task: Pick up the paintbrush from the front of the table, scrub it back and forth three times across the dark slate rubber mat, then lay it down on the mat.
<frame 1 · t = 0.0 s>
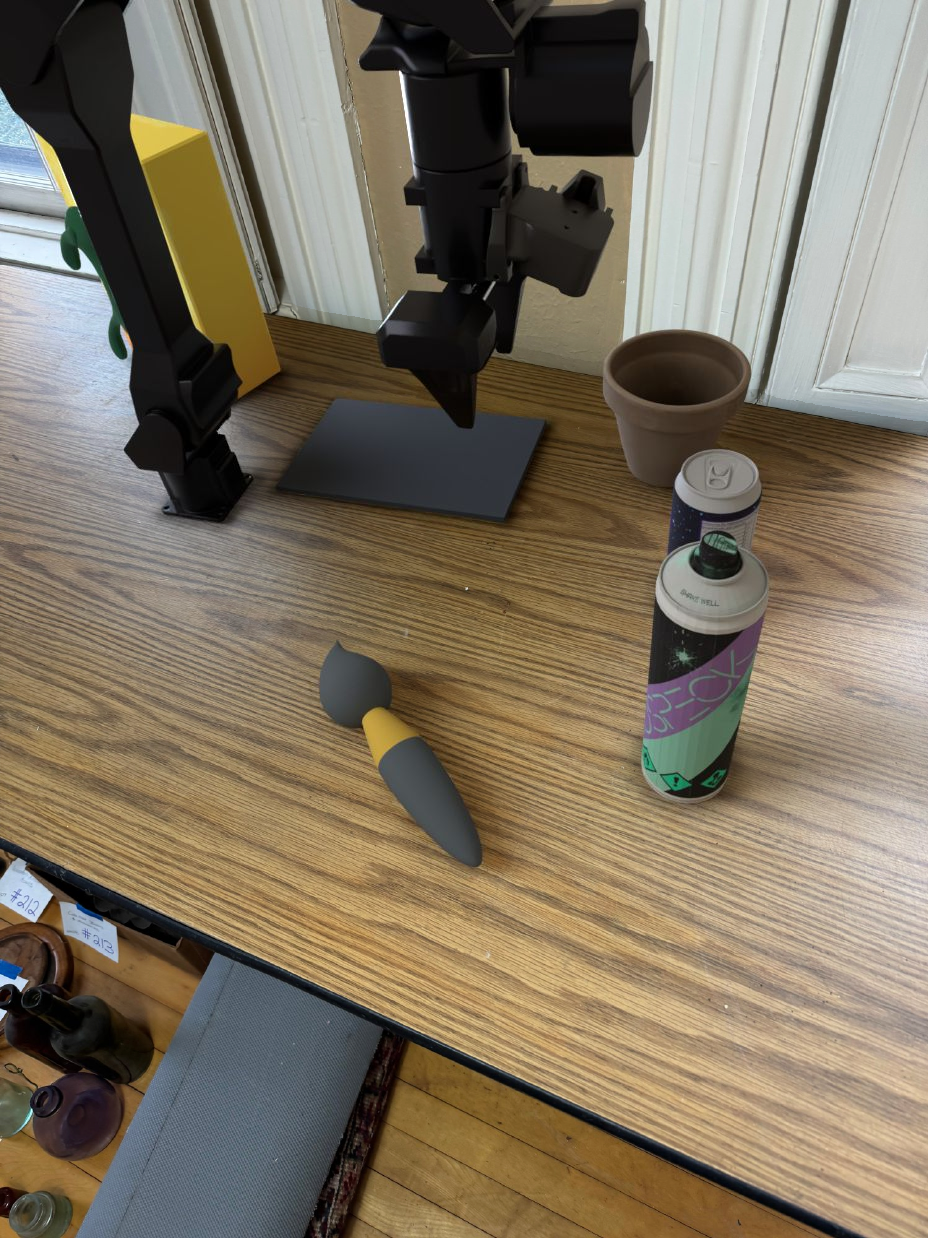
hand: (486, 388, 60), 15 cm above the table, tool pointing down, fingers open, 9 cm apart
paintbrush: (405, 760, 58), on the table
mottled yellow carton: (189, 377, 94), on the table
mat: (413, 457, 80), on the table
beverage can: (701, 598, 65), on the table
flower pot: (667, 467, 75), on the table
spray can: (683, 768, 55), on the table
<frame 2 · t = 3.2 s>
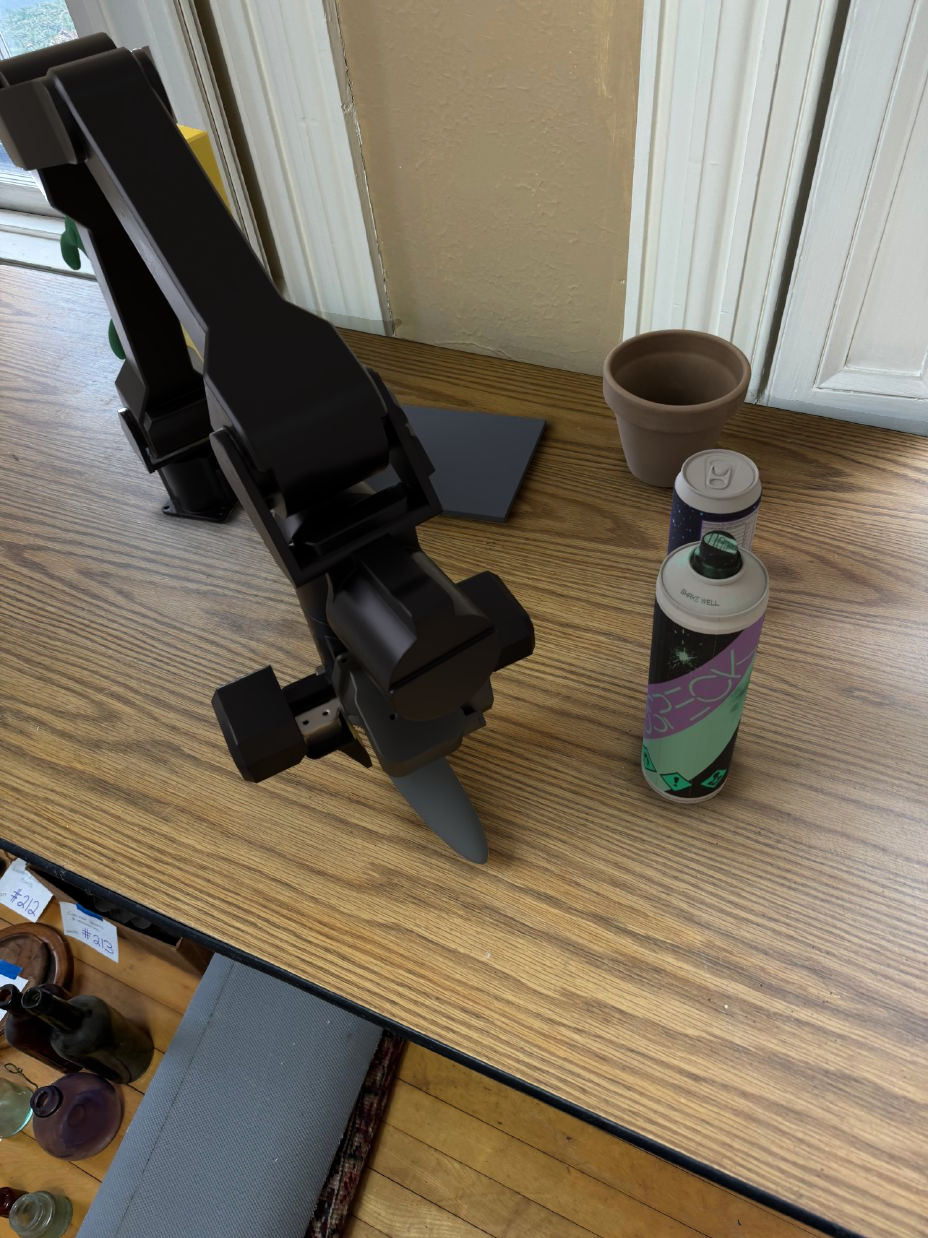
hand: (399, 747, 57), 2 cm above the table, tool pointing down, fingers closed on paintbrush, 4 cm apart
paintbrush: (410, 757, 58), on the table, touching gripper
everything else where it was.
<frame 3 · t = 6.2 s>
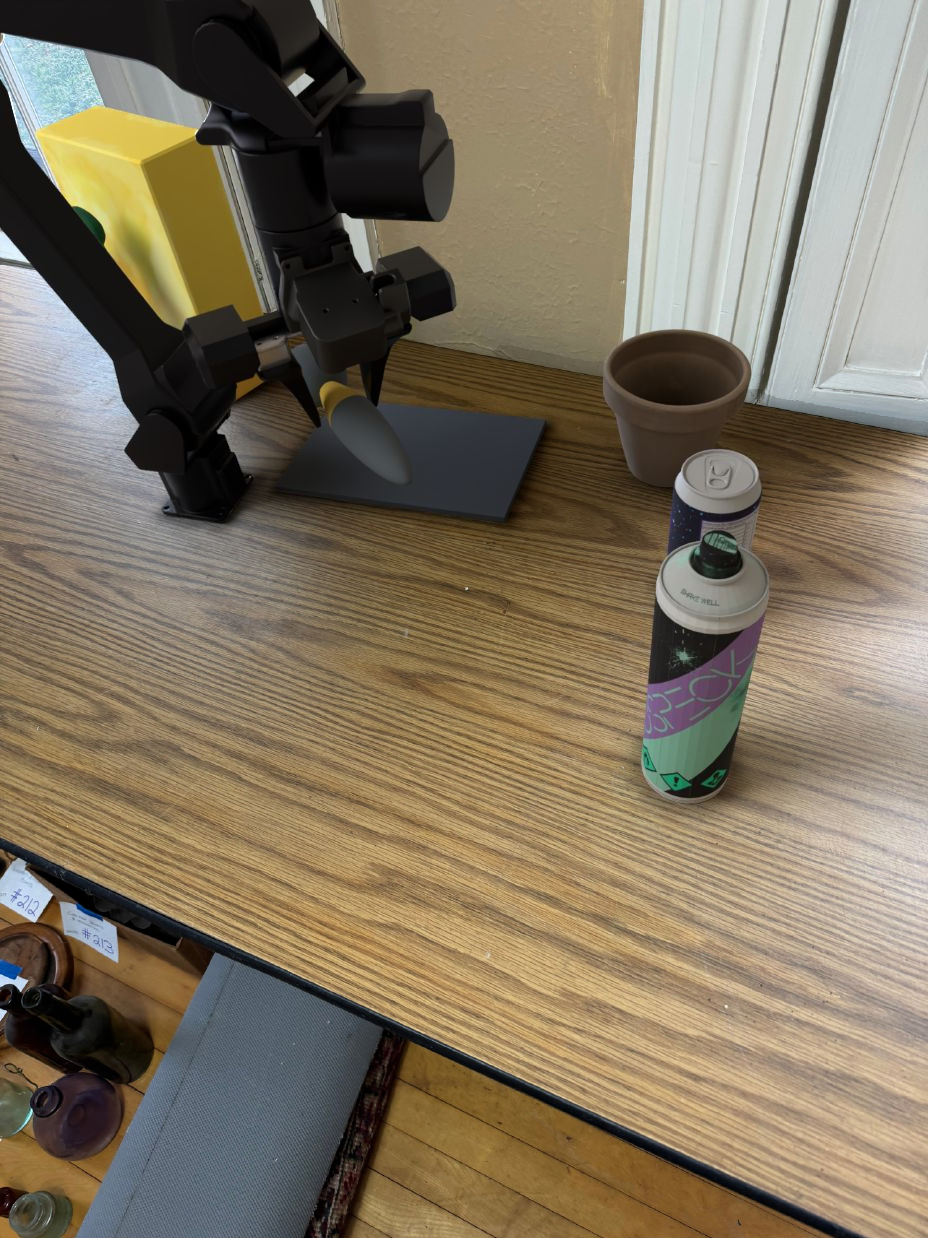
hand: (345, 415, 67), 11 cm above the table, tool pointing down, fingers closed on paintbrush, 4 cm apart
paintbrush: (356, 430, 68), point 9 cm above the table, touching gripper
everything else where it was.
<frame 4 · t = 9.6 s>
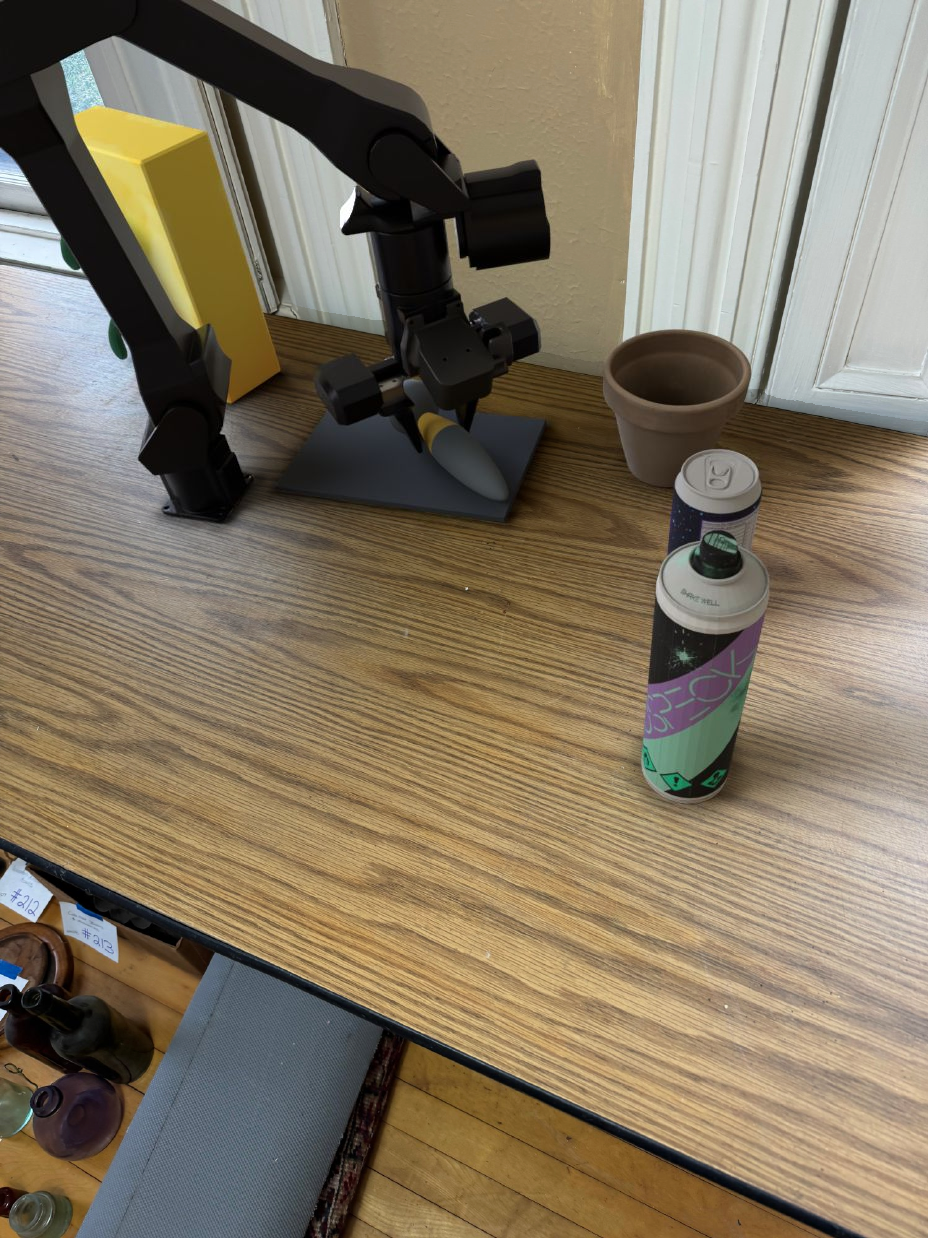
hand: (441, 441, 77), 2 cm above the table, tool pointing down, fingers closed on paintbrush, 4 cm apart
paintbrush: (449, 454, 79), resting on mat, touching gripper
everything else where it was.
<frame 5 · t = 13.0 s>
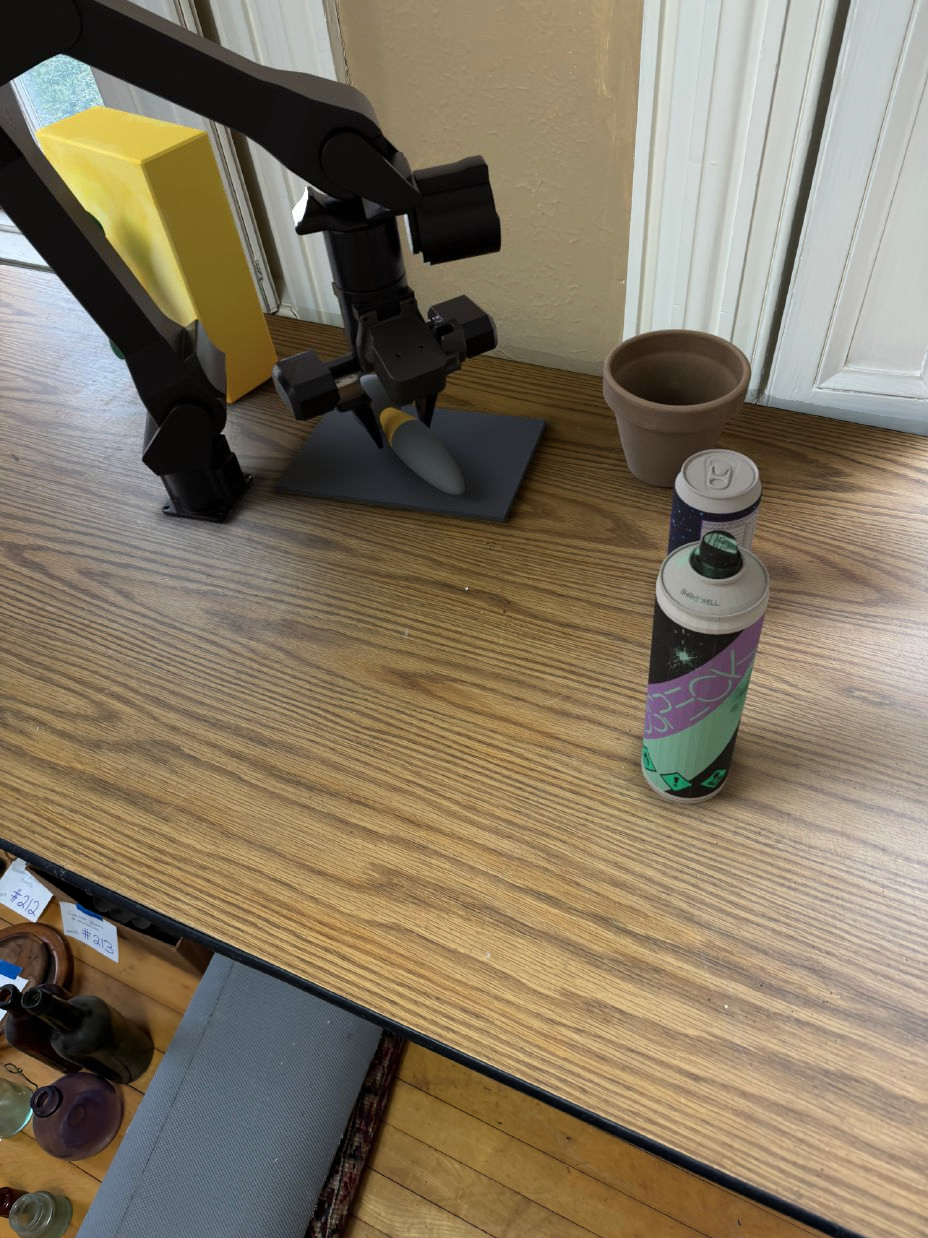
hand: (402, 437, 78), 2 cm above the table, tool pointing down, fingers closed on paintbrush, 4 cm apart
paintbrush: (411, 449, 80), point 1 cm above the table, touching gripper
everything else where it was.
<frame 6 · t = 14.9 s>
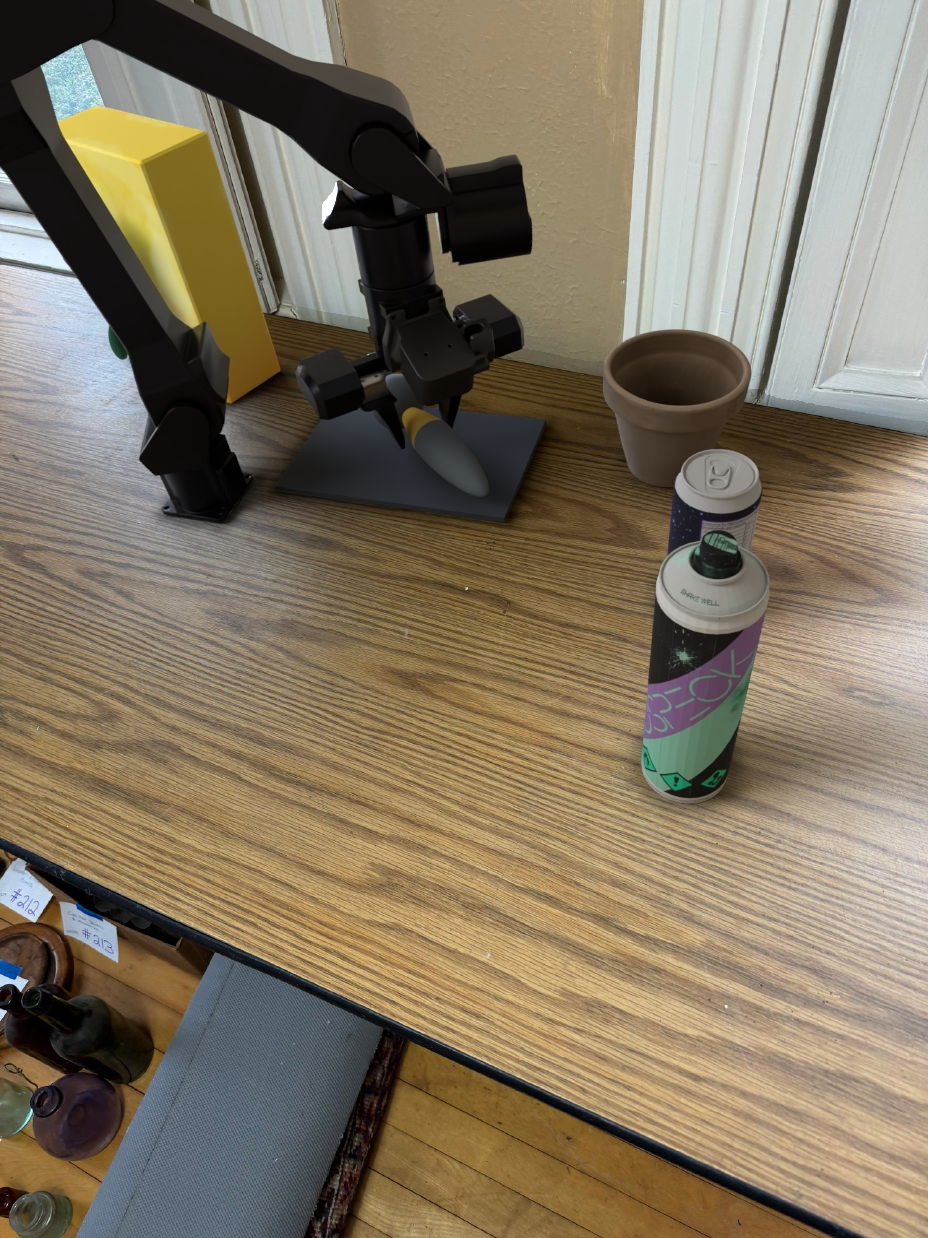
hand: (424, 437, 77), 3 cm above the table, tool pointing down, fingers closed on paintbrush, 4 cm apart
paintbrush: (433, 449, 79), point 1 cm above the table, touching gripper
everything else where it was.
when the fingers open (2 cm above the table, at t = 16.0 s): paintbrush stays where it is, resting on mat.
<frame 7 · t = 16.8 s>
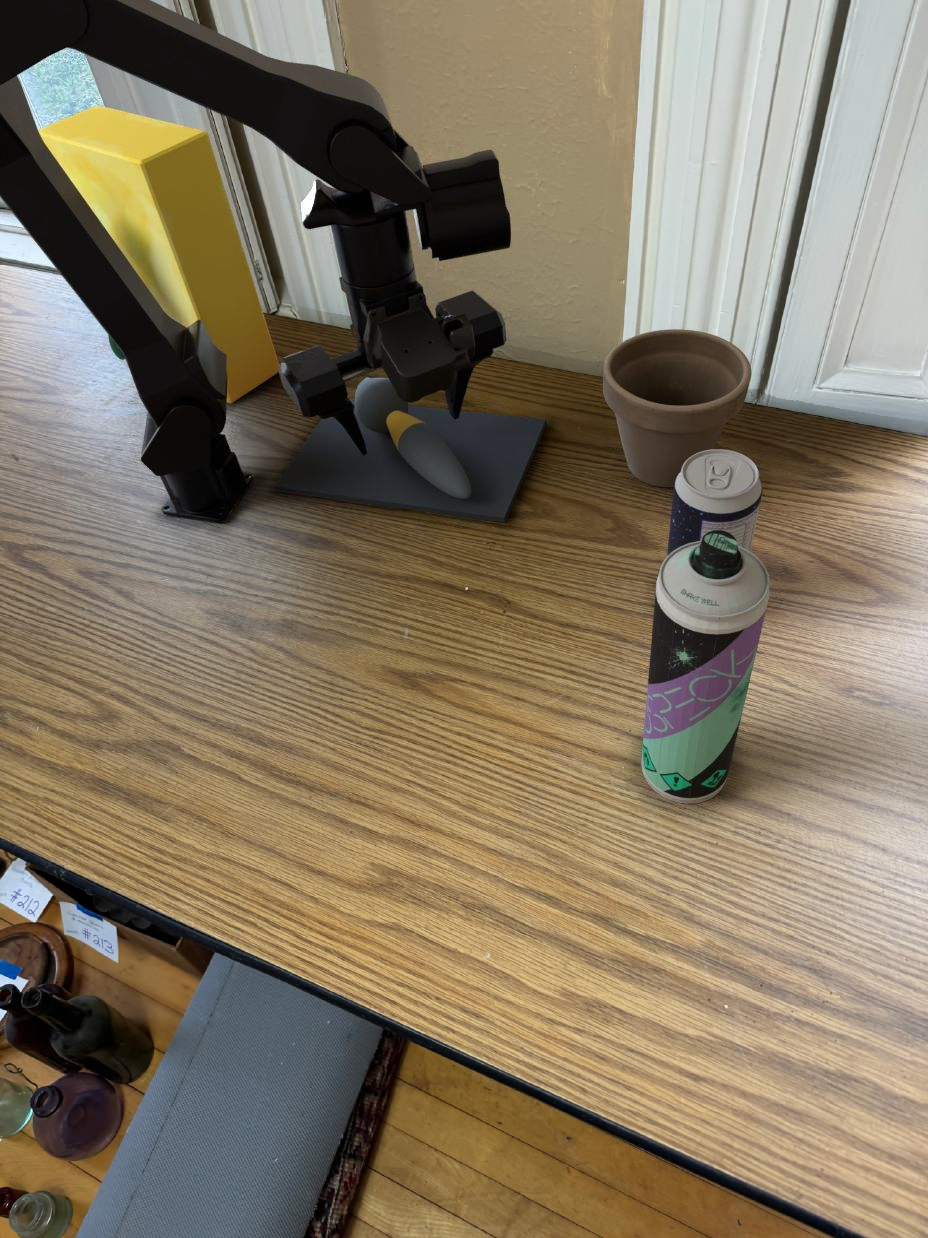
hand: (409, 434, 78), 3 cm above the table, tool pointing down, fingers open, 9 cm apart
paintbrush: (417, 452, 80), resting on mat
everything else where it was.
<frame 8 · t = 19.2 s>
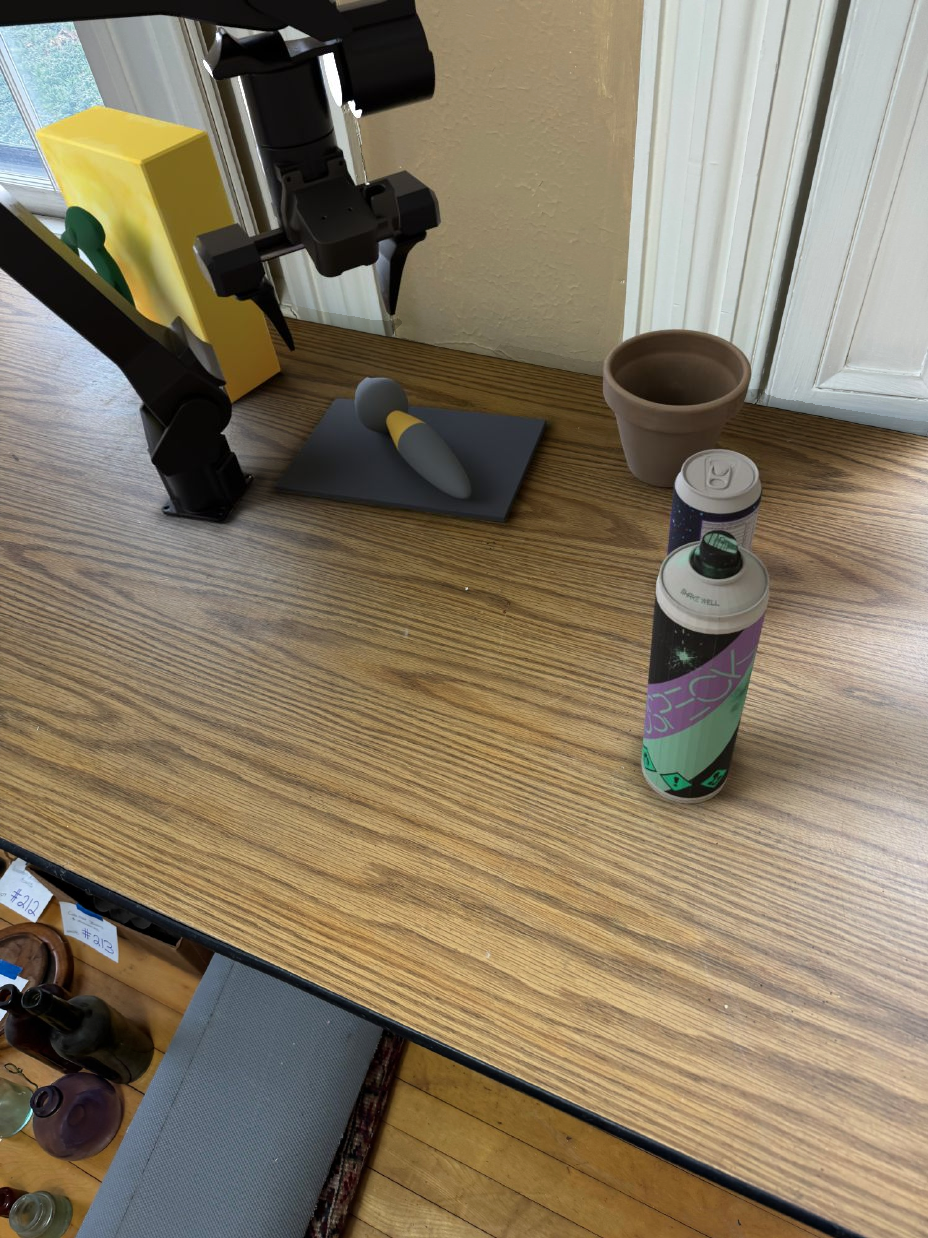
hand: (341, 330, 73), 12 cm above the table, tool pointing down, fingers open, 9 cm apart
nothing on the table moved.
at the end: paintbrush inside the target area on the mat (0.5 cm from its centre), point 0.4 cm above the mat's base; paintbrush moved 33.0 cm from its start; the gripper is holding nothing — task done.
